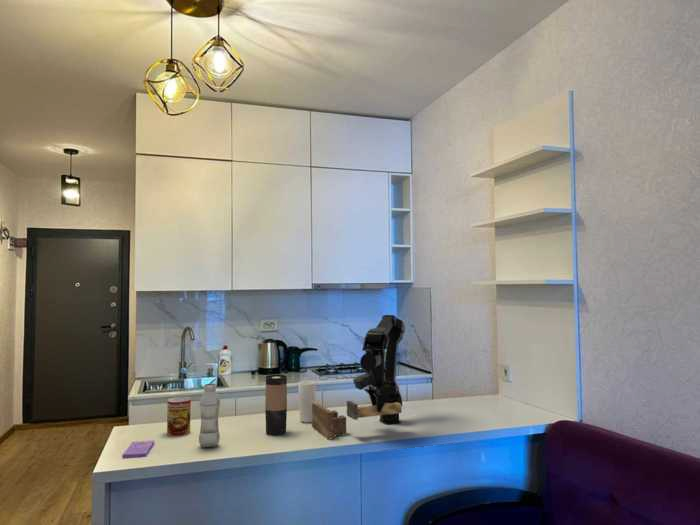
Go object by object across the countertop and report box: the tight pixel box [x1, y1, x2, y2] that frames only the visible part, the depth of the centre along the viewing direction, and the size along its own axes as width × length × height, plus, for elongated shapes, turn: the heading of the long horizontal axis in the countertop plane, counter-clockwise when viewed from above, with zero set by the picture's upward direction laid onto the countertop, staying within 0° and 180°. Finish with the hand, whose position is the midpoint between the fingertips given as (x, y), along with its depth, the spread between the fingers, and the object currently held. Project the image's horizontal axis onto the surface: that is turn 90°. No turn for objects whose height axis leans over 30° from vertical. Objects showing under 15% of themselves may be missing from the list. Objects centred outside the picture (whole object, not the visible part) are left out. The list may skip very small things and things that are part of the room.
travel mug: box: [264, 374, 288, 437], centre depth 178 cm, size 8×8×20 cm
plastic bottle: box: [198, 383, 221, 448], centre depth 163 cm, size 6×7×20 cm
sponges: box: [122, 440, 155, 459], centre depth 158 cm, size 7×13×2 cm, turn 11°
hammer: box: [346, 400, 402, 421], centre depth 175 cm, size 19×6×5 cm, turn 113°
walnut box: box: [311, 402, 347, 440], centre depth 178 cm, size 8×16×9 cm, turn 23°
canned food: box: [166, 396, 192, 437], centre depth 178 cm, size 8×8×12 cm
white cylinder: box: [297, 380, 317, 424], centre depth 193 cm, size 7×7×15 cm
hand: (377, 410), depth 175 cm, fingers closed on hammer, 3 cm apart
